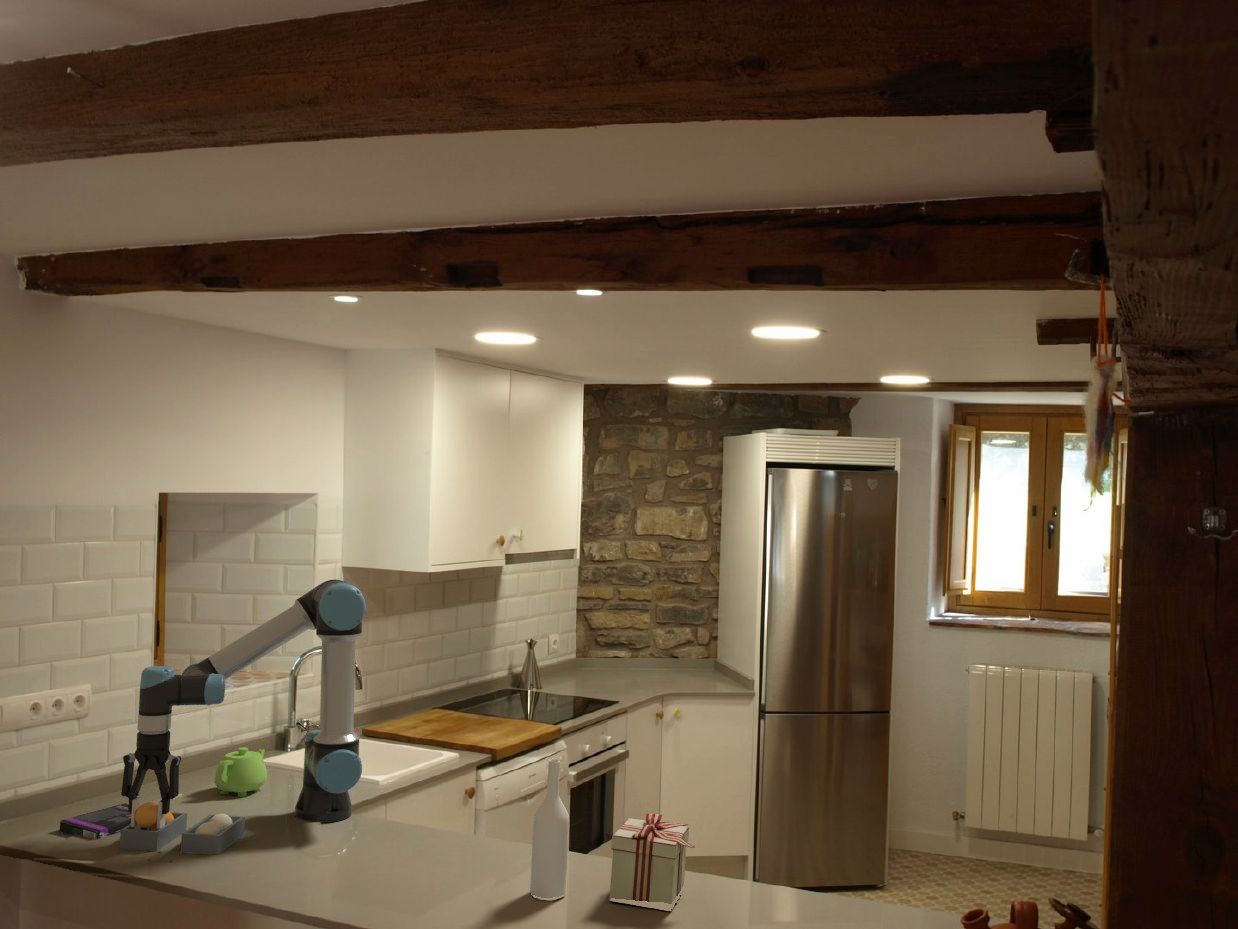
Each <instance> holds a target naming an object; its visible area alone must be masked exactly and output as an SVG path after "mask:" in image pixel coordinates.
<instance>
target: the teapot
mask: <svg viewBox="0 0 1238 929" xmlns="http://www.w3.org/2000/svg"><path fill="white" fill-rule="evenodd" d="M265 752H266V750H265V749H262V748H260V749H257V751H252V750H249V748H248V747H245V746H244V747H238V748H237V751H236V750H235V751H232V752H228V753H226V754H225V755H224V756H223V758H222V759H221V760H220V761H219V764H218V767H217V769H216V771H215V775H214V784H215V786H216V788H217V789H218V790H220V792H219V794H220V795H228V794H229V793H230V792H231V793H237V797H239V798H246V797H248V793H247V792H250V791H251V792H252V793H253V792H255V793H256V792H260V791H261V789H260V788H261V787H262V786H263V785H264V784H265V783H266V781H267V778H268V772H267V767H266V763H265V761H264V756H265Z"/></svg>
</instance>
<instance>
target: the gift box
mask: <svg viewBox="0 0 1238 929" xmlns="http://www.w3.org/2000/svg"><path fill="white" fill-rule="evenodd" d="M662 817H663V814H657V813H646V814H645V820H644V819H637V818H631V817H628V818H627V819H626V820H625V822H624V823H623V824H622V825H621V826H620V827H619V828H618V829H617V831H615V833H614V834H613V835H612V836H611V848H610V849H611V850H612V857H611V859H612V860H611V861H612V862H611V871H610V872H611V873H610V875H611V876H610V886H609V899H610V898H615V899H626V900H635V901H647V902H664V903H668V904H672V902H673V901H674V900H675V898H676V896H678V894H679V893H680V891H681V889H682V887H683V885H684V886H685V874H686V861H687V860H686V859H687V857H686V856H687V847H688V848H690V849H694V848H696V846H695V845H693V844H692V845H691V844H690V843H689V842H688V841H689V834H690V827H688V826H689V824H684V823H678V822H674V821H661V820H662Z"/></svg>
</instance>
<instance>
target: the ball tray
mask: <svg viewBox="0 0 1238 929" xmlns="http://www.w3.org/2000/svg"><path fill="white" fill-rule="evenodd" d="M169 812H170V813H171V814H172V815H173V817H174V820H172V821H171V822H169V823H168V824H166V825H165V826H163V827H162V828H160V829H158V830H157V831H150V829H149V828H143V827H141V826H139V825H137V826H135V827H131V824H130V825H128V826H126V827H125V828H123V829H121V832H119V833H120V837H119V849H121V850H132V851H151V852H157V853H158V854H162V850H161V849H162V848H163V847H165V846H166V845H168V844H170V842H172V841H174V840H175V839H176V838H178V837H179V836H181V840H180V844H181V845H180V854H179V855H182V856H183V855H185V854H195V855H196V854H197V855H198V854H200V855H212V856H213V855H215V856H218V855H220V854H221V853H222V852H224V851H225V850H227V849H228V848H229V847H230V846H231V845H232V844H234V843H235V842H236V841H238V839H240V838H241V837H243V836H244V835H245V826H246V825H245V824H246V816H244V815H243V816H242V815H240V816H239V815H228V816H229V817H230V818H231V819H232V822H233V824H231V825H230V826H228V827H227V828H226V829H224V830H223V831H222V832H220V833H219V834H218V835H212V834H196V833H195V832H196V830H197V828H198V827H199V826H200V825H202V824H204V823H207V822H209V820H210V819H211V818H212V817H213V816H215V815H216V814H208V815H207V816H205V817H204V818H203V819H200V821H198V822H196V823H195V824H194V825H192V826H191V827H190V828H188V829H187V823H188V813H187V812H175V811H169ZM151 860H152V859H151V858H147V859H146V861H147V862H150V861H151ZM173 862H174V860H172V859H170V860H169V862H168V863H173Z"/></svg>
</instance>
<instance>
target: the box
mask: <svg viewBox="0 0 1238 929" xmlns="http://www.w3.org/2000/svg"><path fill="white" fill-rule="evenodd" d="M128 809H129V803H126V802H125V803H121V804H116V805H114V806H109V807H106V808H103V809H99V810H94V811H91V812H87V813H84V814H80V815H77V816H73V817H69V818H65V819H60V821H59V833H62V832H63V834H66V835H69V834H70V836H75V835H78V836H82V837H87V838H89V839H94V840H99V839H102V838H105V837H106V838H107V837H110V836H113V835H115V834H119V833H121V829H123V828H125V827H126V826H128V825H130V824H131V815H132V812H129V810H128Z"/></svg>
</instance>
